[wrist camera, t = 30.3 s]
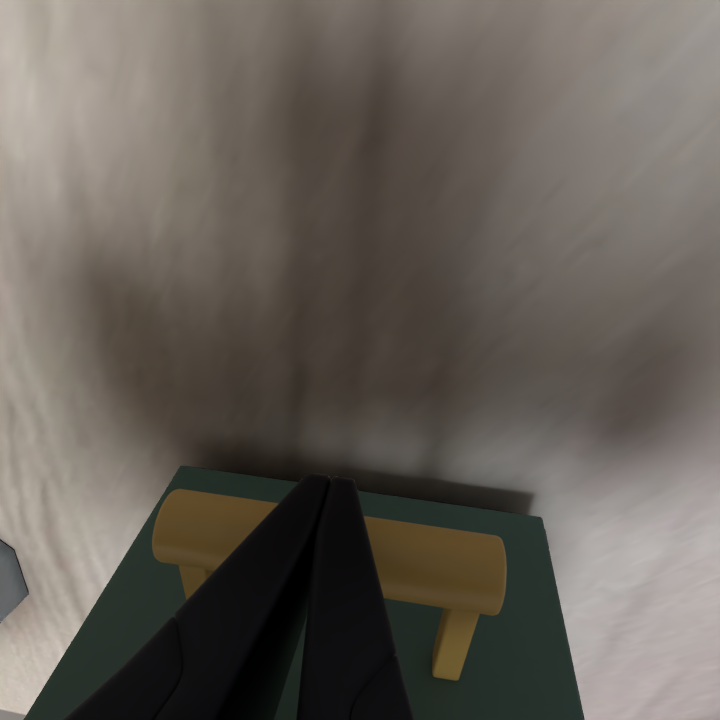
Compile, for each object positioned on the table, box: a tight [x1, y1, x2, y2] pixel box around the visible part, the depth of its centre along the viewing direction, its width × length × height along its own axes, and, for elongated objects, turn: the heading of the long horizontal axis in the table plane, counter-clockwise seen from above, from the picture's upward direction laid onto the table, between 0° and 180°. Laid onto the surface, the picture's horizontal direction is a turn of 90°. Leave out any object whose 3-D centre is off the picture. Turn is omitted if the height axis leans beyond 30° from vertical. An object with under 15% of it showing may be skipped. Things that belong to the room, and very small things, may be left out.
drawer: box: [24, 466, 584, 720], centre depth 15 cm, size 18×11×8 cm, turn 177°
